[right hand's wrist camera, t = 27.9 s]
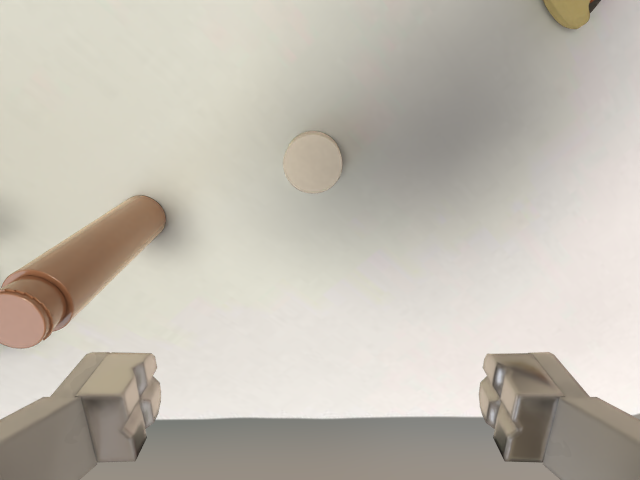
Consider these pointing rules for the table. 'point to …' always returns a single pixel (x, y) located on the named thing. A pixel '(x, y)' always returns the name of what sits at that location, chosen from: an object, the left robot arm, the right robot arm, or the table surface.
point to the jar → (74, 272)
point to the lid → (312, 162)
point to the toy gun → (571, 11)
